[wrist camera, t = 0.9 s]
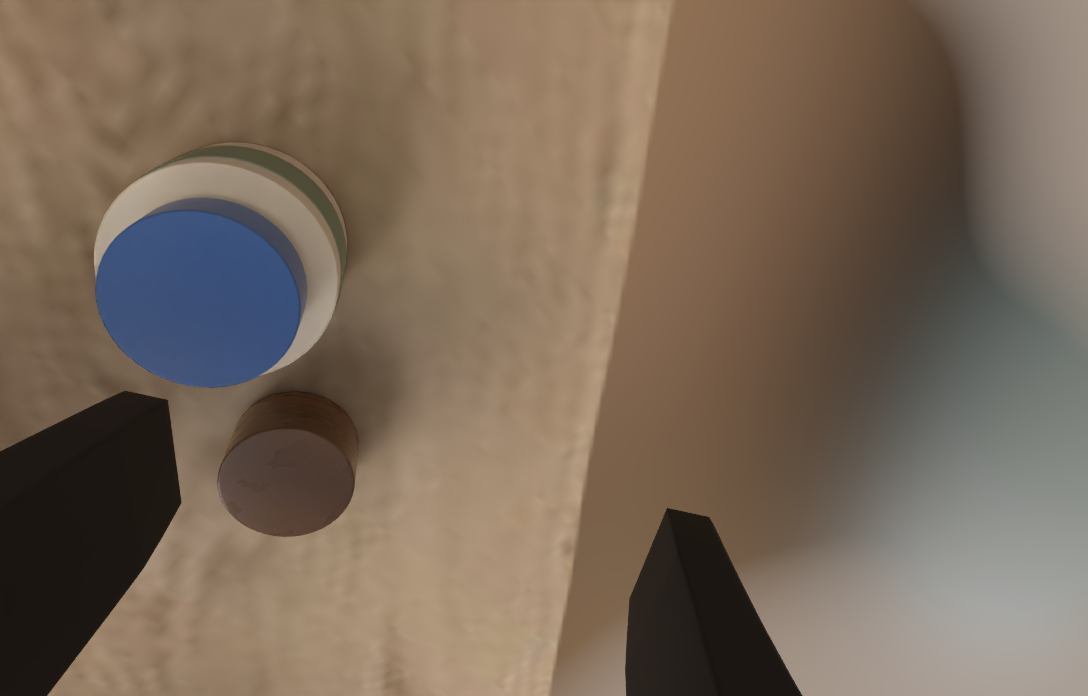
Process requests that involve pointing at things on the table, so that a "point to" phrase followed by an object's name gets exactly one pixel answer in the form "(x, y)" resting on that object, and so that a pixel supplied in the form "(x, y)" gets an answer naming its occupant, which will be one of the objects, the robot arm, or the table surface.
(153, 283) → the bottle
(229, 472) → the brown cylinder
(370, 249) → the table surface
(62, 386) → the table surface
